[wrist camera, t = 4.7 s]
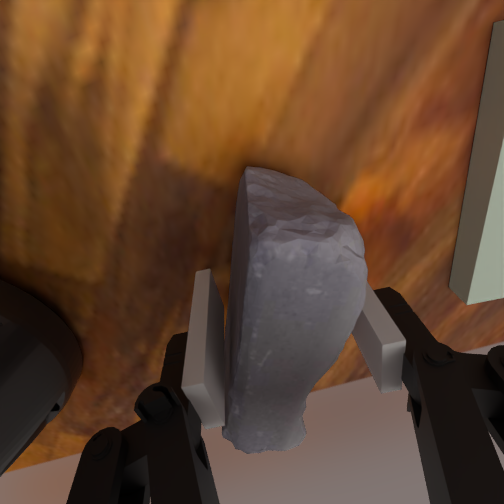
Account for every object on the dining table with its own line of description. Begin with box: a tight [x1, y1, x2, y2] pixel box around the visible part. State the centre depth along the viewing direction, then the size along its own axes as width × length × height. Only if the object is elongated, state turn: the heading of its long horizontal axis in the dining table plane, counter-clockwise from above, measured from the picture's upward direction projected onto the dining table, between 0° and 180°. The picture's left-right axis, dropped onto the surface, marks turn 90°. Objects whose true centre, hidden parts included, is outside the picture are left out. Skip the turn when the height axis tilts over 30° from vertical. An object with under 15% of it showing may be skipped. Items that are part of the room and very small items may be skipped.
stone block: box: [222, 166, 368, 454], centre depth 15 cm, size 12×5×10 cm, turn 171°
